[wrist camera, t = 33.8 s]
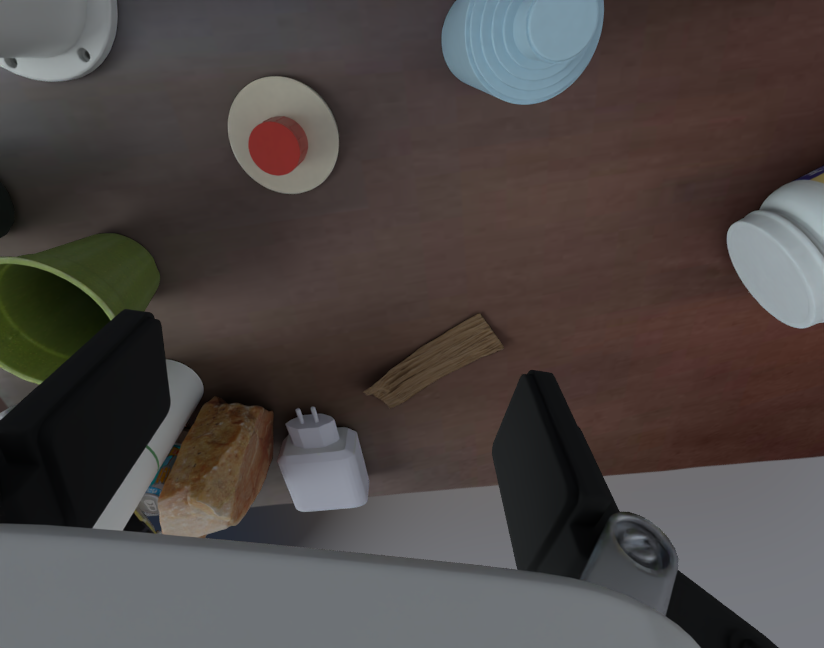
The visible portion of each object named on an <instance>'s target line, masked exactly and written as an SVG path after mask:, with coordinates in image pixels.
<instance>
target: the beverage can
mask: <svg viewBox="0 0 824 648" xmlns="http://www.w3.org/2000/svg"><path fill="white" fill-rule="evenodd" d="M189 430H190V429H187V428H183V430H182V432H181V434H180V435H179V437H178V439H177V440H176V442H175V444H174V445H173V447H172V449H171V450H170V452H169V454H168V455H167V457H166V459H165V460H164V462H163V464H162V465H161V467H160V469H159V470H158V472H157V474H156V475H155V477H154V479H153V481H152V482H151V484H150V486H149V487H148V489H147V491H146V492H145V494H144V496H143V497H142V499H141V501H140V502H139V504H138V507H139V508H140V509H141V511H143V512H146V513H151V514H156V513H159V509H158V503H157V502H158V499H159V496H160V494H161V491H162V489H163V486H164V484H165V481H166V480H167V478H168V476H169V474H170V472H171V469H172V467H173V465H174V462H175V460H176V458H177V454H178V452H179V450H180V447H181V444H182V442H183V441H184V439H185V437H186V436H187V434H188V432H189Z"/></svg>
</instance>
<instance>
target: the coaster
mask: <svg viewBox="0 0 824 648" xmlns="http://www.w3.org/2000/svg"><path fill="white" fill-rule="evenodd" d="M278 116H285V117H288V118H291V119H293V120H294V121H296V122H297V123H298V124H299V125H300V126H301V127H302V128H303V130H304V132H305V133H306V136H307V140H308V151H307V154H306V156H305V158H304V160H303V161H302V162H301V163H300V164H299V166H297V167H296V168H295V169H294V170H293V171H291V172H290V173H288V174H286V175H281V176H276V175H271V174H268V173H266V172H264V171H263V170H261V169H260V168H259V167H258V166H257V165H256V164H255V163H254V161H253V160H252V158H251V155H250V153H249V148H248V141H249V136H250V134H251V132H252V130H253V129H254V128H255V127H256V126H257V125H259V124H261V123H263V121H265V120H267V119H269V118H271V117H272V118H274V117H278ZM228 136H229V141H230V145H231V148H232V151H233V153H234V155H235V157H236V159H237V161H238V162H239V164H240V165H241V167H242V168H243V169H244V171H245V172H246V173H247V174H248V175H249V176H250V177H251V178H252V179H254V180H255V181H256V182H258V183H259V184H261V185H262V186H264V187H266V188H268V189H270V190H273V191H276V192H280V193H286V194H298V193H303V192H307V191H309V190H312V189H314V188H316V187H317V186H319V185H320V184H321V183H322V182H324V181H325V180H326V178H327V177H328V176H329V175H330V173H331V172H332V170H333V168H334V166H335V164H336V161H337V158H338V154H339V144H340V140H339V132H338V127H337V124H336V121H335V118H334V116H333V114H332V111H331V110H330V108H329V106H328V105H327V103H326V102H325V101H324V100H323V98H322V97H321V96H320V95H319V94H318V93H317V92H316V91H314V90H313V89H312V88H311V87H309V86H308V85H306V84H304V83H303V82H300V81H298V80H296V79H293V78H289V77H284V76H269V77H263V78H260V79H257V80H255V81H253V82H251V83H249V84H248V85H247V86H245V87H244V88H243V89H242V90H241V91H240V92H239V93H238V95H237V96H236V98H235V99H234V102H233V104H232V106H231V109H230V112H229V117H228Z"/></svg>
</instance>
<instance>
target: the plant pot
mask: <svg viewBox="0 0 824 648" xmlns="http://www.w3.org/2000/svg"><path fill="white" fill-rule="evenodd" d="M159 282H160V273H159V271H158V269H157V267H156V264H155V261H154V259H153V257H152V256H151V254H150V253H149V252H148V251H147V250H146V249H145V248H144V247H143V246H141V245H140V244H139V243H137V242H136V241H134V240H132V239H130V238H128V237H125V236H123V235H120V234H115V233H102V234H96V235H92V236H89V237H86V238H83V239H80V240H77V241H74V242H71V243H67V244H64V245H61V246H58V247H55V248H52V249H49V250H46V251H42V252H39V253H36V254H27V255H22V256H18V257H0V367H1V368H3V369H4V370H6V371H8V372H10V373H12V374H14V375H16V376H18V377H20V378H22V379H24V380H26V381H29V382H33V383H37V384H39V385H40V384H41V383H42V382H43V381H44V380H45V379H46V378H48V377H49V376H50V375H51V374H52V373H53V372H54V371H55V370H56V369H58V368H59V367H60V366H61V365H62V364H63V363H64V362H65V361H66V360H68V359H69V358H70V357H71V356H72V355H73V354H74V353H75V352H76V351H78V350H79V349H80V348H81V347H82V346H83V345H84V344H85V343H86V342H88V341H89V340H90V339H91V338H92V337H93V336H94V335H95V334H96V333H98V332H99V331H100V330H101V329H102V328H103V327H104V326H105V325H106V324H108V323H109V322H110V321H111V320H112V319H113V318H114V317H115V316H116V315H118V314H119V313H120V312H121V311H122V310H124V309H130V310H137V311H143V312H144V311H145V309H146V308H147V306H148V304H149V302H150V301H151V299H152V297H153V296H154V294H155V292H156V290H157V289H158V286H159Z"/></svg>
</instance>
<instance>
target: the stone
mask: <svg viewBox="0 0 824 648" xmlns="http://www.w3.org/2000/svg"><path fill="white" fill-rule="evenodd" d="M273 418H274V414H273V411H267V410H265V409H264V408H263V407H261V406H257V405H252V406H246V405H243V404H241V403H231V404H227V403H226V402H225V401H224V400H223V399H221V398H219V397H213V398H212V399H211V400H210V401H209V402H207V403H205V404H204V405H203V406H202V408H201V410H200V412H199V414H198V416H197V418H196V420H195V423H194V424H193V425H192V427H191V429H190V430H189V432H188V434H187V436H186V437H185V439H184V441H183V442H182V444H181V447H180V450H179V452H178V454H177V458H176V460H175V462H174V465H173V467H172V469H171V472H170V474H169V476H168V478H167V480H166V481H165V484H164V486H163V489H162V491H161V494H160V496H159V499H158V502H157V503H158V509H159V513H160V524H161V527H162V534H164V535H175V536H186V537H197V538H205V537H206V535H207V534H210V533H213V532H217V531H219V530H223V529H226V528H228V527H229V526H235V525H237V524H238V523H239V522H240V521H241V519H242V518H243V517H244V516H245V514H246V513H247V511H248V509H249V508H250V506H251V505H252V503H253V502H254V500H255V498H256V496H257V494H259V492H260V490H261V488H262V485H263V483H264V481H265V479H266V475H267V472H268V469H269V466H270V463H271V461H272V459H273Z"/></svg>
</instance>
